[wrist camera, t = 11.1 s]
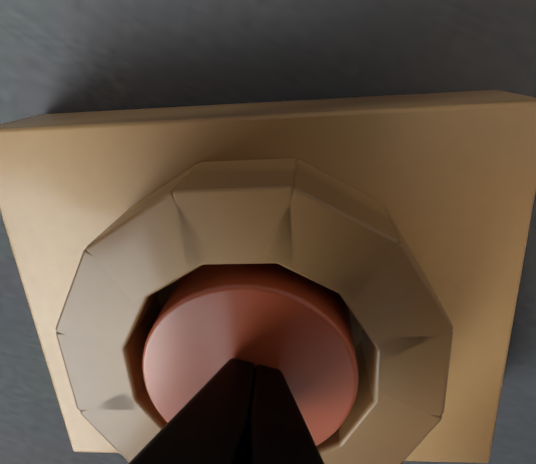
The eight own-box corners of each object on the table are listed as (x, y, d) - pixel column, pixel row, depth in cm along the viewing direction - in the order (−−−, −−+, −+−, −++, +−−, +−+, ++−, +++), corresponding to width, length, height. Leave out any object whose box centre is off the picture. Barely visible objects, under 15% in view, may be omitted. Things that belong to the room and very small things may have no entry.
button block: (499, 88, 9) (629, 115, 5) (459, 395, 12) (525, 546, 8) (40, 113, 10) (-114, 150, 6) (109, 391, 13) (30, 524, 9)
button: (350, 236, 8) (362, 283, 6) (349, 393, 9) (357, 465, 8) (158, 241, 8) (122, 286, 7) (182, 391, 10) (158, 459, 8)
